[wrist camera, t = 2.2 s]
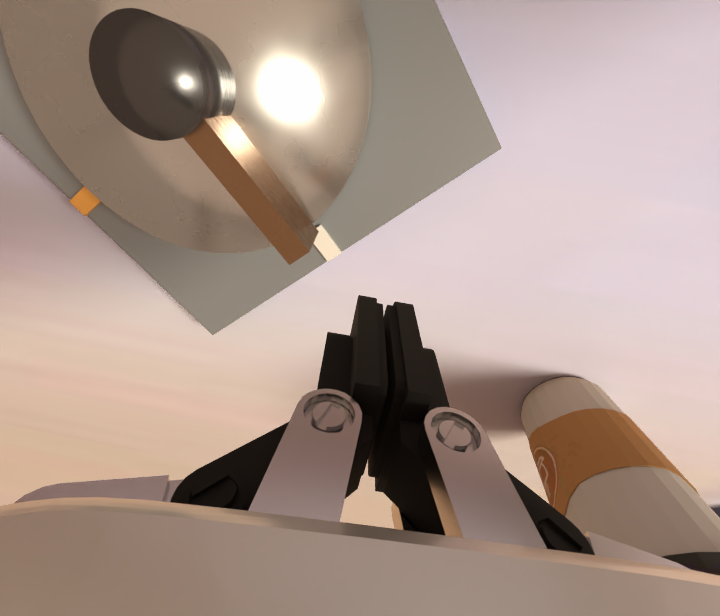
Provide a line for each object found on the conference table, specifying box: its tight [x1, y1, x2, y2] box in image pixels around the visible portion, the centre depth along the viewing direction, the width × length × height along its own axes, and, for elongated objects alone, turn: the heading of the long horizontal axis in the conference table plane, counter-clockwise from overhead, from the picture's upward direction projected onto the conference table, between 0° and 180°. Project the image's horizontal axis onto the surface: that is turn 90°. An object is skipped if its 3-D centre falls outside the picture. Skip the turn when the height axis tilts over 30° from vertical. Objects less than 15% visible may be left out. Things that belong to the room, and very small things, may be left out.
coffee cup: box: [521, 377, 720, 576], centre depth 22 cm, size 8×8×15 cm
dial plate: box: [0, 0, 501, 335], centre depth 18 cm, size 21×21×2 cm
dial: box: [0, 0, 371, 265], centre depth 15 cm, size 16×16×5 cm
